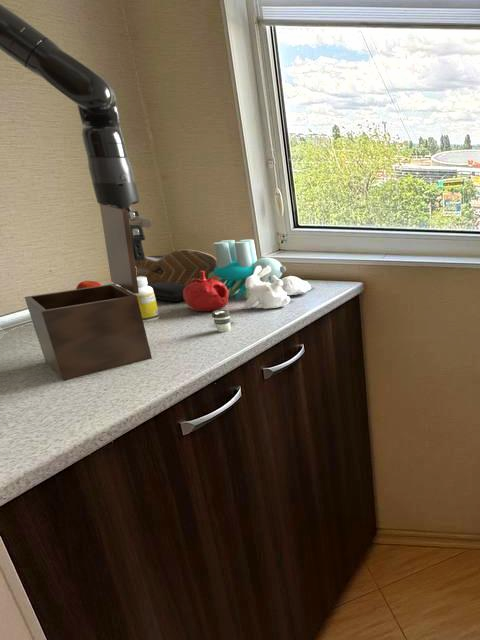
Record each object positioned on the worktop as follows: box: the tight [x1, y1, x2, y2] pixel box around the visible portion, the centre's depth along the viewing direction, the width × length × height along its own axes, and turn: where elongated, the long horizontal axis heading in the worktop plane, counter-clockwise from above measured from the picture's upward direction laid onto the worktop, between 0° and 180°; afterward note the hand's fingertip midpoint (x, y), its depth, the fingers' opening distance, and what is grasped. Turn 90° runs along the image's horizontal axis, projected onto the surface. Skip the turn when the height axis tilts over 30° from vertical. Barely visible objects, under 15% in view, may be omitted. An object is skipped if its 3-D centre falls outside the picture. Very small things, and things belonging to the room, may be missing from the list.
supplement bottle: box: [127, 277, 161, 323], centre depth 118 cm, size 5×5×10 cm
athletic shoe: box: [135, 248, 218, 285], centre depth 149 cm, size 11×28×12 cm
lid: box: [99, 204, 153, 294], centre depth 95 cm, size 14×13×5 cm
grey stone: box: [280, 275, 312, 296], centre depth 138 cm, size 9×8×5 cm
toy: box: [208, 238, 287, 301], centre depth 137 cm, size 12×22×15 cm, turn 95°
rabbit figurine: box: [238, 266, 291, 310], centre depth 127 cm, size 12×8×10 cm, turn 90°
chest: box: [24, 283, 153, 382], centre depth 93 cm, size 14×13×13 cm
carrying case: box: [147, 282, 187, 302], centre depth 136 cm, size 11×3×15 cm
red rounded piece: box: [75, 280, 102, 289], centre depth 123 cm, size 6×6×8 cm
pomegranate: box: [183, 271, 229, 312], centre depth 125 cm, size 10×10×9 cm
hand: (132, 257), depth 114 cm, fingers open, 8 cm apart
